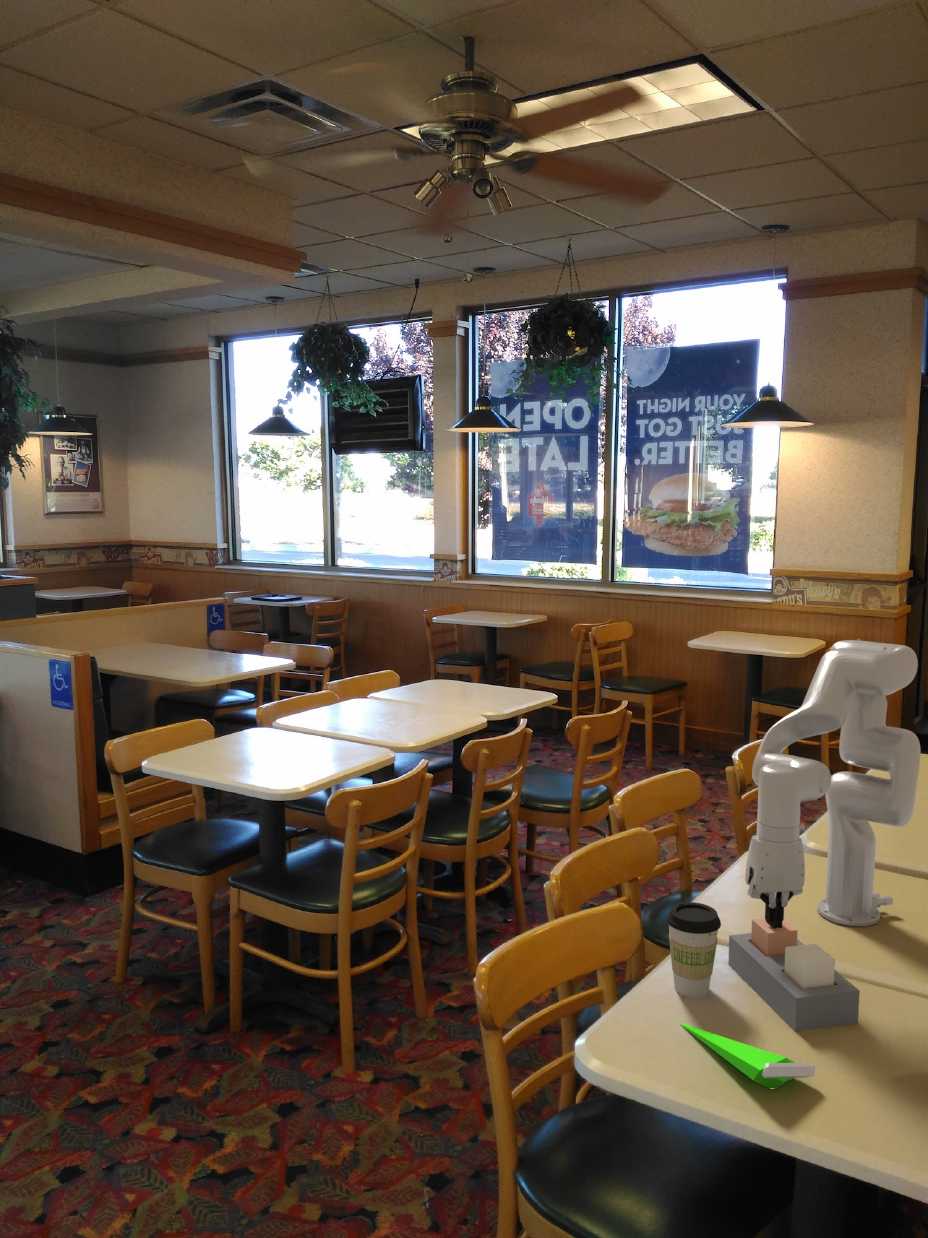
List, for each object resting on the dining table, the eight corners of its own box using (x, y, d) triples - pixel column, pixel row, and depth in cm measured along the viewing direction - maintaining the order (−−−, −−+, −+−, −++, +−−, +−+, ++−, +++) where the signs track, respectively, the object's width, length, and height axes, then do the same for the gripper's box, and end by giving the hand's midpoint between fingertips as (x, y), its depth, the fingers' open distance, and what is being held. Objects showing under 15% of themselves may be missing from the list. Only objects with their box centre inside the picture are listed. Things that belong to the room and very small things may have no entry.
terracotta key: (779, 946, 185) (780, 916, 184) (796, 960, 179) (797, 930, 178) (750, 949, 184) (751, 919, 183) (766, 964, 178) (768, 933, 177)
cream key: (814, 975, 173) (815, 943, 173) (833, 992, 167) (835, 959, 167) (784, 978, 172) (785, 947, 171) (802, 995, 166) (803, 963, 165)
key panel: (784, 958, 189) (785, 929, 188) (858, 1023, 166) (859, 990, 165) (728, 964, 187) (729, 935, 186) (795, 1031, 163) (796, 998, 163)
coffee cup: (688, 1008, 171) (690, 928, 169) (653, 983, 180) (655, 907, 178) (730, 994, 175) (732, 916, 174) (694, 971, 184) (696, 896, 182)
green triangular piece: (649, 1043, 164) (763, 1098, 142) (653, 1010, 165) (767, 1060, 143) (697, 1043, 169) (813, 1097, 148) (700, 1012, 170) (817, 1060, 149)
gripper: (803, 822, 183) (799, 913, 186) (731, 827, 180) (727, 920, 183) (825, 835, 176) (821, 930, 178) (751, 841, 173) (747, 937, 175)
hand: (773, 925), depth 181 cm, fingers closed
